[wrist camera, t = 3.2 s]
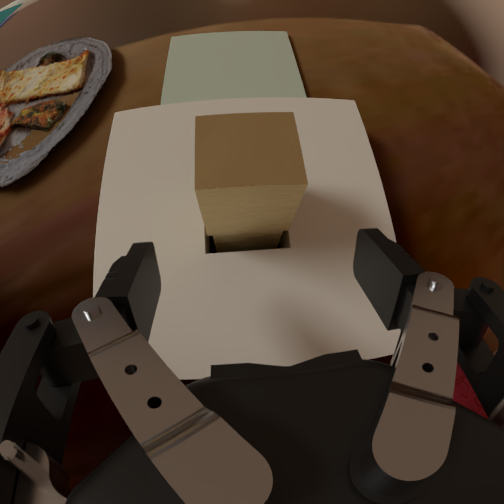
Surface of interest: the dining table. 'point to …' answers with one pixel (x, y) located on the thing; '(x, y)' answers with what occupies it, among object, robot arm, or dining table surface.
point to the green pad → (231, 67)
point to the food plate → (47, 97)
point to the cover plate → (247, 262)
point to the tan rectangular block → (248, 177)
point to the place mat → (7, 14)
